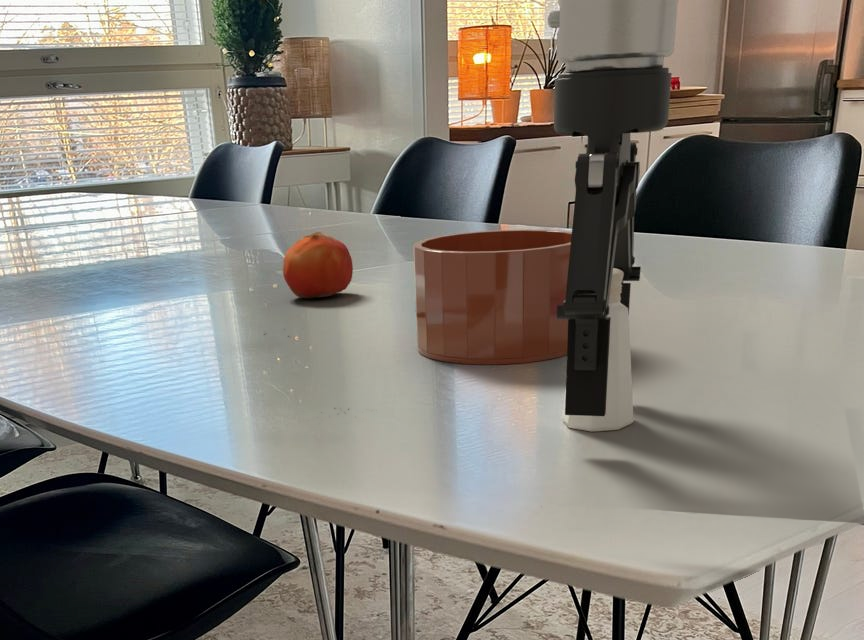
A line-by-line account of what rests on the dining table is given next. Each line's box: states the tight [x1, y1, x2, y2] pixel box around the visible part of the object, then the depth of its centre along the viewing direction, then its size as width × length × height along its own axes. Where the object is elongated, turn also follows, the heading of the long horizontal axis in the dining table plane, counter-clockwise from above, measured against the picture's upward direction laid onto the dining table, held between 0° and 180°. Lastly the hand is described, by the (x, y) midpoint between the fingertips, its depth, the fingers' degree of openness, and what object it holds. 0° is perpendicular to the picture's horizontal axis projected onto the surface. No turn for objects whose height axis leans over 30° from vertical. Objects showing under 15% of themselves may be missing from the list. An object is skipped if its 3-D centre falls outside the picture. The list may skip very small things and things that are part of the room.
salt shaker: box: [561, 268, 634, 433], centre depth 75 cm, size 5×5×11 cm
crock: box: [412, 229, 572, 366], centre depth 101 cm, size 17×17×10 cm
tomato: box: [282, 231, 354, 299], centre depth 134 cm, size 9×9×8 cm
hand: (597, 390), depth 77 cm, fingers open, 13 cm apart
